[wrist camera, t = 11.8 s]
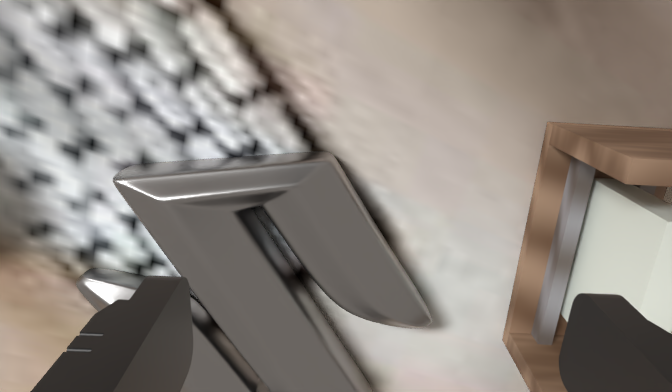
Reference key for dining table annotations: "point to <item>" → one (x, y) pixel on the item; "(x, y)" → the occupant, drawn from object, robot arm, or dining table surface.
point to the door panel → (625, 250)
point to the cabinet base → (570, 230)
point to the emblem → (264, 268)
